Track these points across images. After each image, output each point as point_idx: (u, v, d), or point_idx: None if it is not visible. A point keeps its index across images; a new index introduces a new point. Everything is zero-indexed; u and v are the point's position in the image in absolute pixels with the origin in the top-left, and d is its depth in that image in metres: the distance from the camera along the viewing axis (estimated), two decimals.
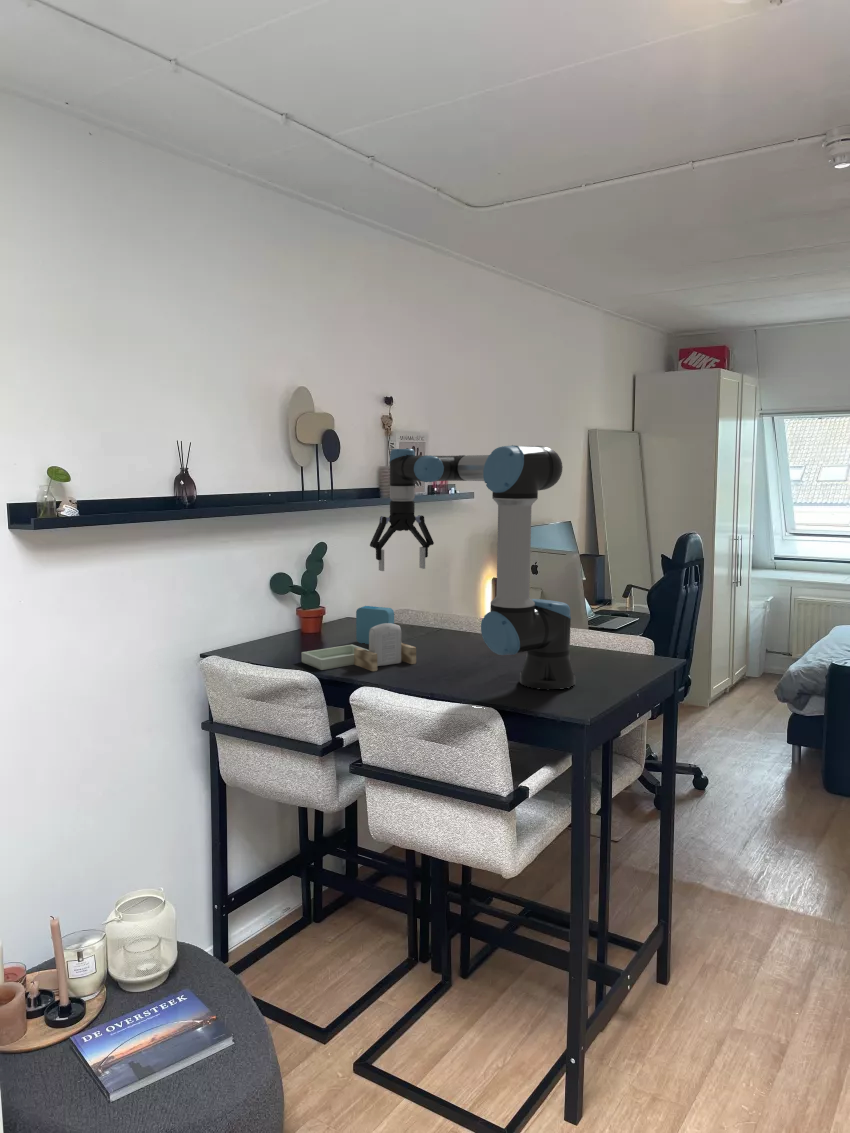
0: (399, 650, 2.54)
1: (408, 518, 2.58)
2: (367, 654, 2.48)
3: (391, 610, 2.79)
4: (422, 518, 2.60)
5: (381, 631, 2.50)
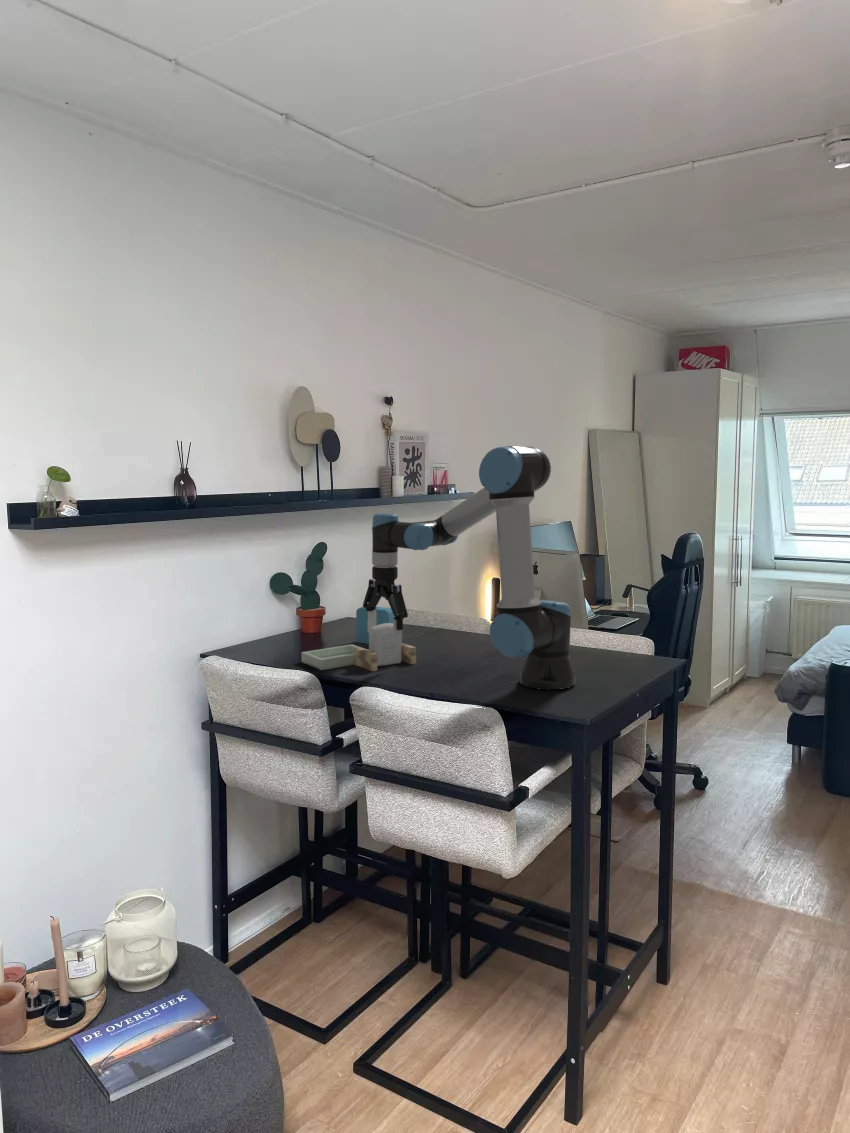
0: (399, 650, 2.54)
1: (384, 585, 2.49)
2: (367, 654, 2.48)
3: (391, 610, 2.79)
4: (393, 588, 2.46)
5: (381, 631, 2.50)
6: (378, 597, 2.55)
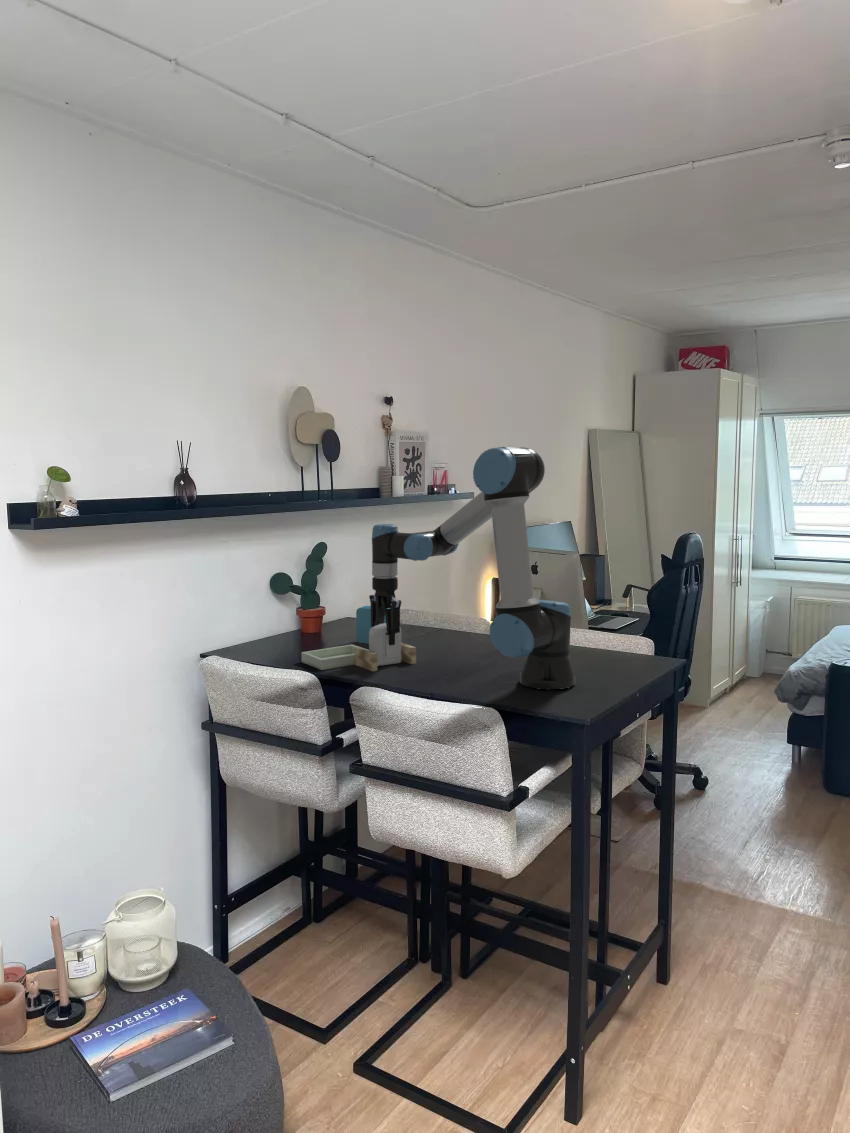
0: (399, 650, 2.55)
1: (385, 594, 2.50)
2: (367, 654, 2.48)
3: None
4: (393, 603, 2.47)
5: (381, 630, 2.50)
6: (382, 611, 2.54)
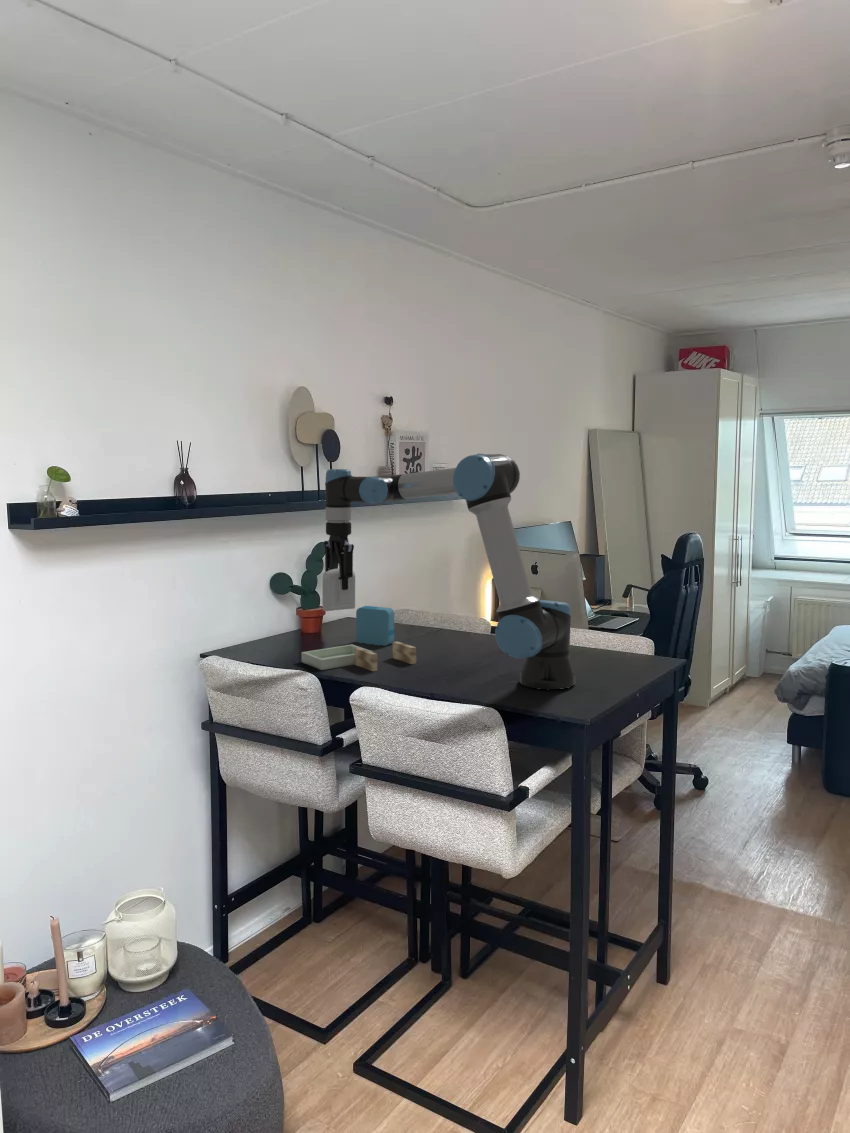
0: (353, 595, 2.55)
1: (338, 538, 2.50)
2: (367, 654, 2.48)
3: (391, 611, 2.79)
4: (345, 547, 2.47)
5: (335, 575, 2.51)
6: (336, 556, 2.54)
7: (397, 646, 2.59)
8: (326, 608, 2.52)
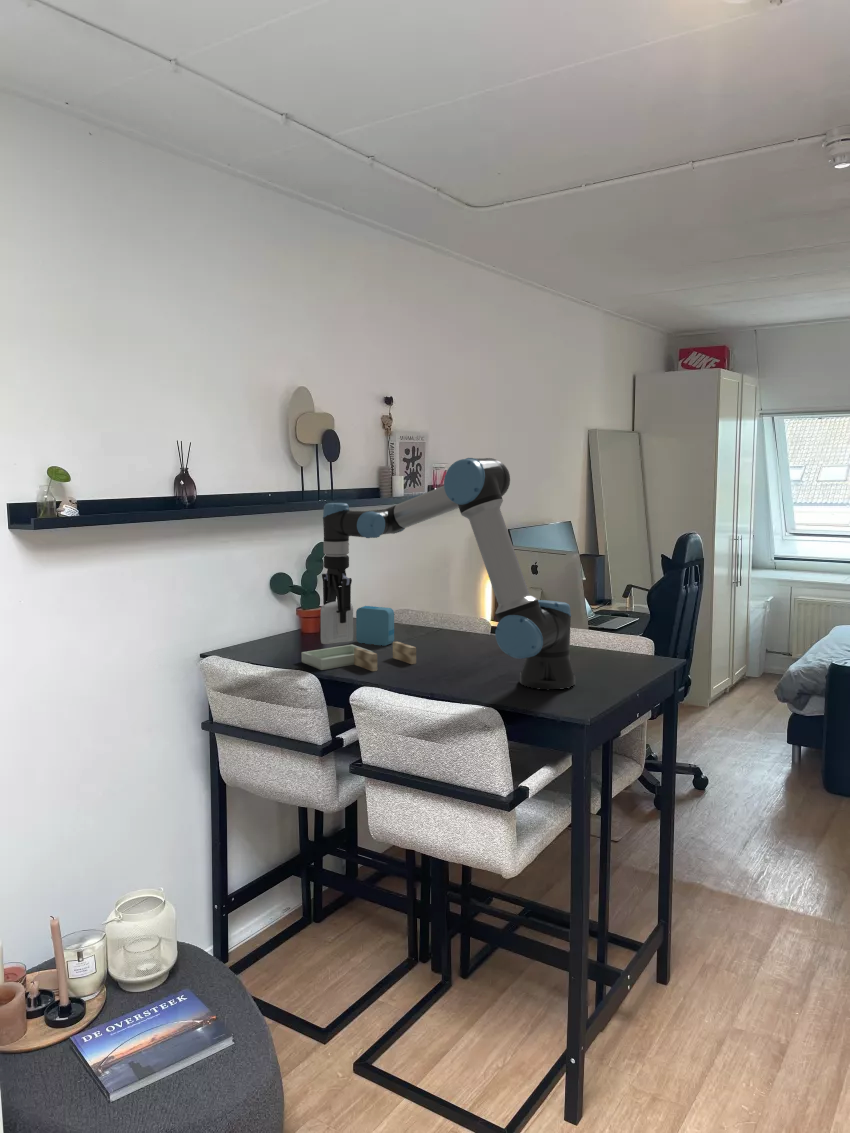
0: (351, 628, 2.56)
1: (336, 572, 2.51)
2: (367, 654, 2.48)
3: (391, 610, 2.79)
4: (343, 581, 2.49)
5: (333, 608, 2.52)
6: (334, 589, 2.56)
7: (397, 646, 2.59)
8: (324, 641, 2.53)
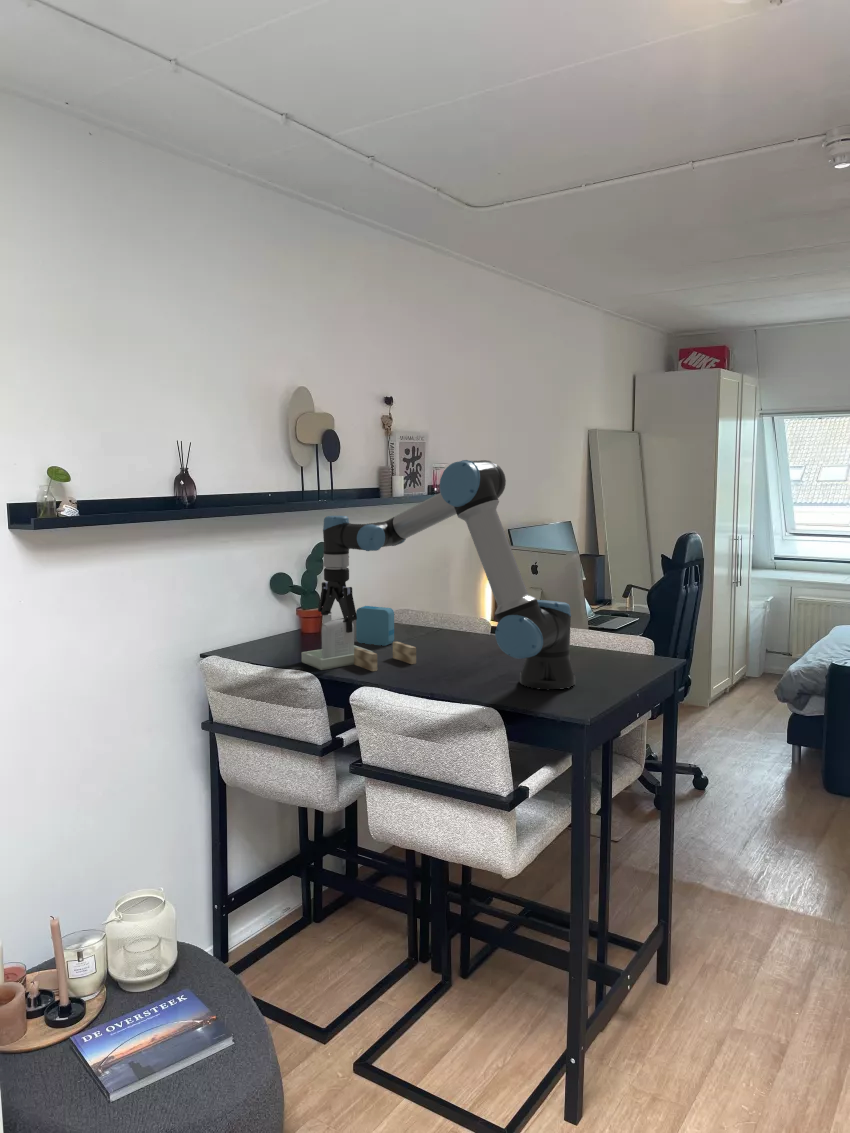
0: (352, 646, 2.57)
1: (336, 586, 2.52)
2: (367, 654, 2.48)
3: (391, 610, 2.79)
4: (344, 590, 2.49)
5: (334, 626, 2.53)
6: (331, 599, 2.57)
7: (397, 646, 2.59)
8: None
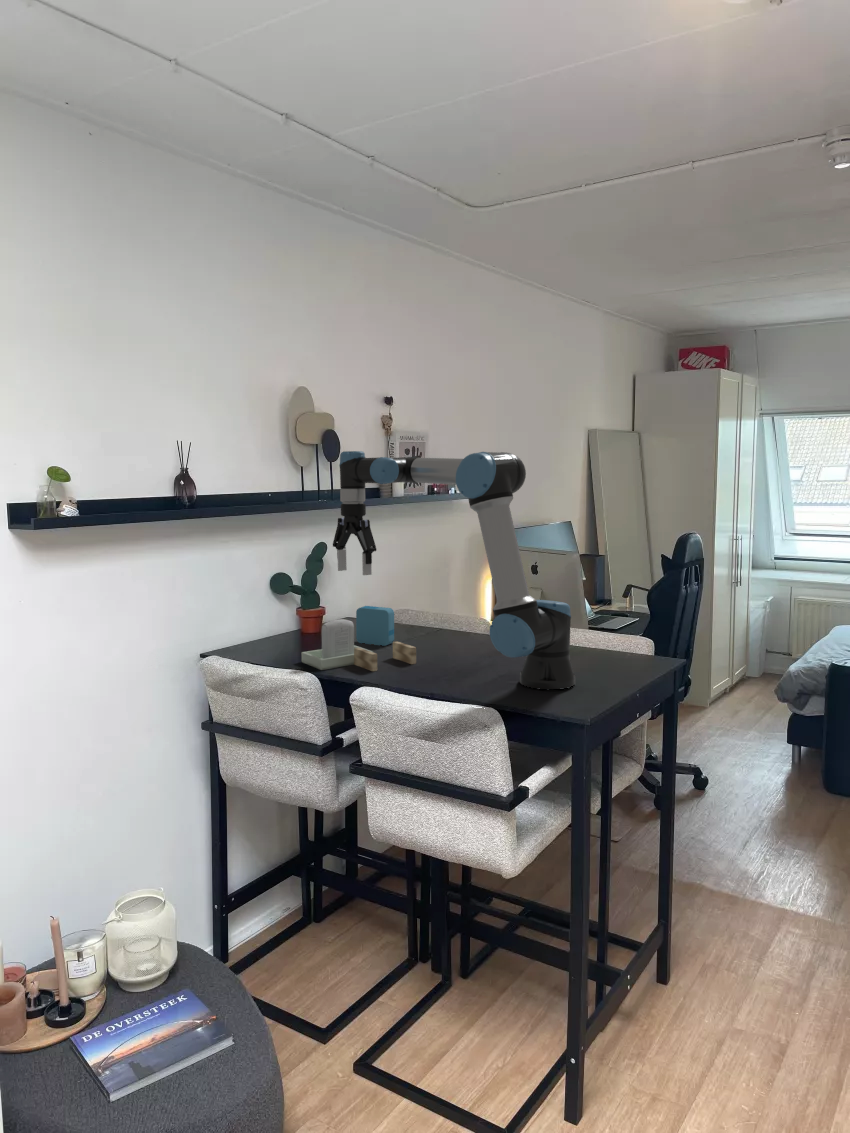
0: (352, 646, 2.57)
1: (353, 521, 2.55)
2: (367, 654, 2.48)
3: (391, 611, 2.79)
4: (361, 522, 2.51)
5: (334, 626, 2.53)
6: (347, 535, 2.60)
7: (397, 646, 2.59)
8: None
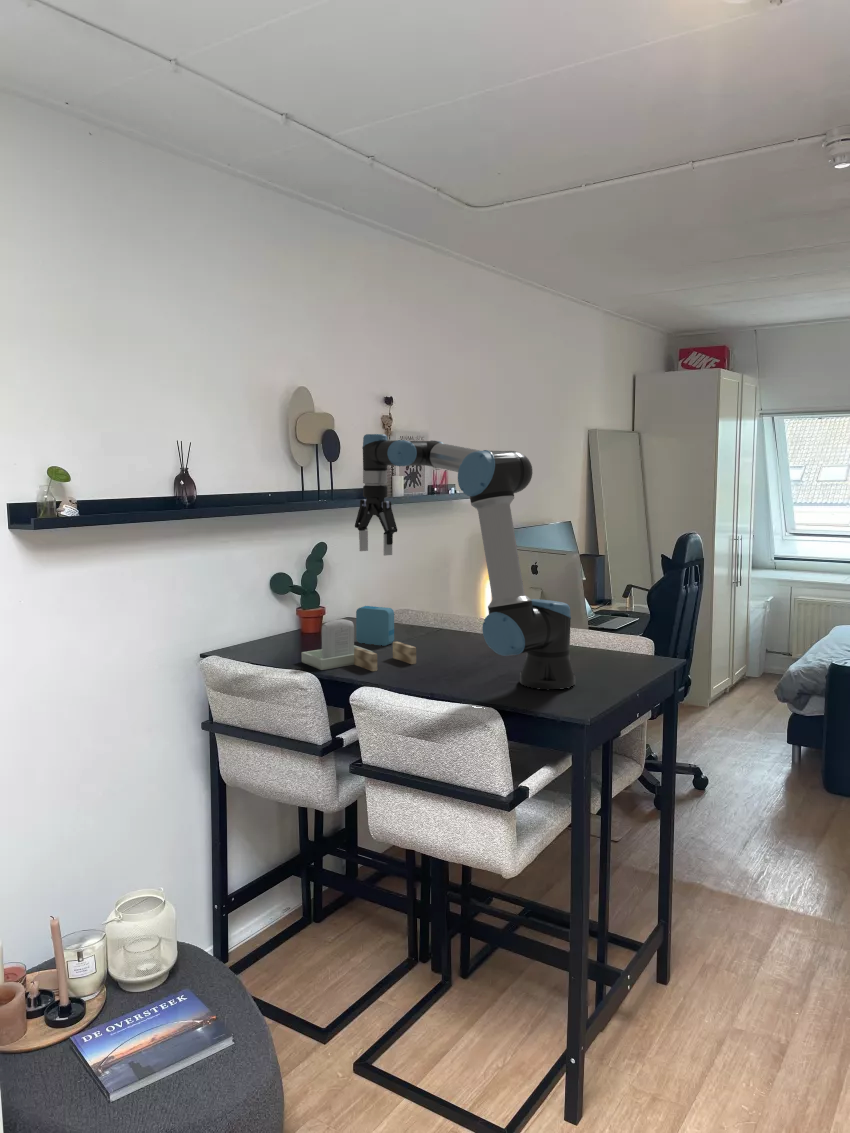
0: (352, 646, 2.57)
1: (375, 503, 2.61)
2: (367, 654, 2.48)
3: (391, 610, 2.79)
4: (383, 504, 2.57)
5: (334, 626, 2.53)
6: (369, 516, 2.66)
7: (397, 646, 2.59)
8: None
